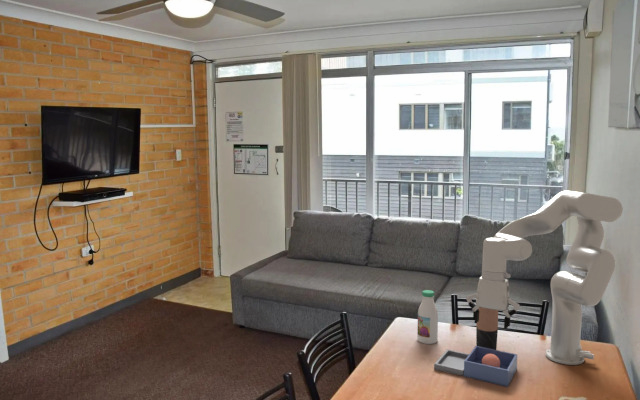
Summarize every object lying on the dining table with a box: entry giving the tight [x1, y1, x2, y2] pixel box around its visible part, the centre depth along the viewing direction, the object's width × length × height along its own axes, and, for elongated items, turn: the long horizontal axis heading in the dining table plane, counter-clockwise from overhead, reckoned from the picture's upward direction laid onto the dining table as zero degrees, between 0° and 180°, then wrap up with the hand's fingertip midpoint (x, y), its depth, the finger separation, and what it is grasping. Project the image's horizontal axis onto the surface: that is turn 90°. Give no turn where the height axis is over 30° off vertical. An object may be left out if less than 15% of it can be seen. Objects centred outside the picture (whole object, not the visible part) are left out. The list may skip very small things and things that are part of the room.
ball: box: [482, 354, 500, 368], centre depth 175 cm, size 6×6×6 cm
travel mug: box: [475, 307, 499, 350], centre depth 192 cm, size 8×8×20 cm
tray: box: [433, 349, 470, 377], centre depth 181 cm, size 10×14×2 cm
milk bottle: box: [416, 289, 439, 345], centre depth 201 cm, size 8×8×20 cm
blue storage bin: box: [463, 345, 518, 388], centre depth 175 cm, size 14×14×6 cm
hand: (491, 324), depth 173 cm, fingers open, 9 cm apart
